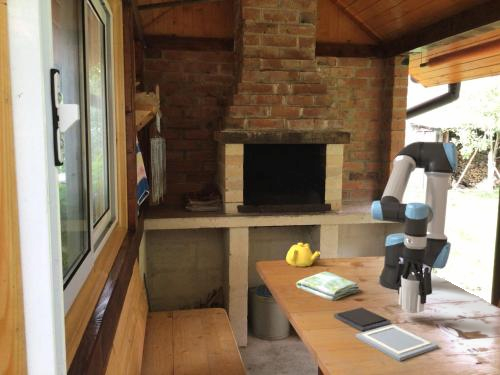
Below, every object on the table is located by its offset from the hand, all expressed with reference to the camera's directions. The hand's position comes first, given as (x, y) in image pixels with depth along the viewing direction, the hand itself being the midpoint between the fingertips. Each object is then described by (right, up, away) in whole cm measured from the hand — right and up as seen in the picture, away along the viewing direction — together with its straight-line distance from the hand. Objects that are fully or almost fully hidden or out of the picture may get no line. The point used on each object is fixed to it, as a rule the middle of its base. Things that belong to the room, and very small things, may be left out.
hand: (410, 307), depth 162 cm
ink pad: (-18, -4, -2) cm, 19 cm away
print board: (-11, -6, -18) cm, 23 cm away
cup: (0, -1, 0) cm, 1 cm away
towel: (-25, -1, +30) cm, 39 cm away
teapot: (-31, +4, +69) cm, 75 cm away
